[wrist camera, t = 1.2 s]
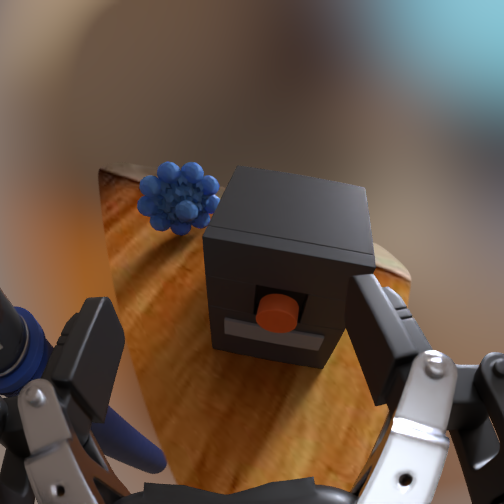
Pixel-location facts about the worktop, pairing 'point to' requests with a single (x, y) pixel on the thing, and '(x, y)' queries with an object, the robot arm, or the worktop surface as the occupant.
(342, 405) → the worktop surface
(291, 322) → the power button
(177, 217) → the grapes
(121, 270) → the worktop surface
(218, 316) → the push button control box
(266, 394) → the worktop surface
